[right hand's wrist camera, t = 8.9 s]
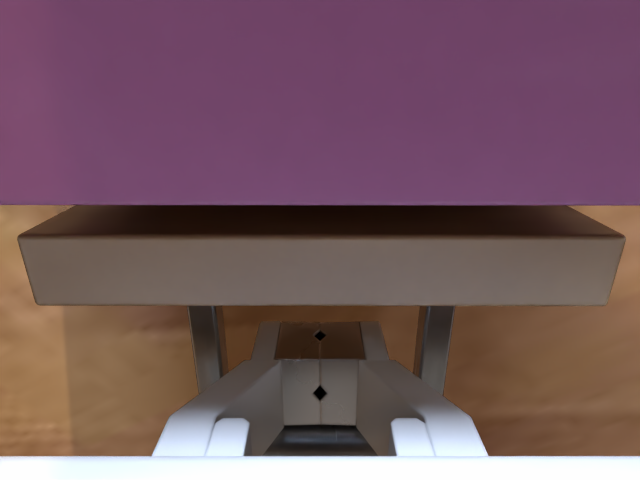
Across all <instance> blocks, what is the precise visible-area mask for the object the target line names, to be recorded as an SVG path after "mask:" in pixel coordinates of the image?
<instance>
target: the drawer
mask: <svg viewBox="0 0 640 480" xmlns="http://www.w3.org/2000/svg"><path fill="white" fill-rule="evenodd" d="M17 240H18V244H19V247H20V251H21V254H22V257H23V261H24V264H25V268H26V271H27V275H28V278H29V282H30V285H31V289H32V292H33V296H34V299H35V302H36V304H37V305H90V306H187V311H188V318H189V325H190V333H191V340H192V347H193V355H194V362H195V370H196V377H197V384H198V392H199V394H200V393H201V392H203V391H204V390H205V389H207V388H208V387H209V386H211V385H212V384H213V383H215V382H216V381H218V380H219V379H220V378H222V377H223V376H224V375H226V374H227V373H228V372H229V370H228V360H227V350H226V340H225V330H224V320H223V310H222V306H420V309H419V319H418V329H417V338H416V348H415V358H414V368H413V374H414V375H416V376H417V377H418V378H420V379H421V380H422V381H424V382H425V383H426V384H428V385H429V386H430V387H432V388H433V389H434V390H436V391H437V392H438V393H440V394H441V395H442V396H443V392H444V385H445V377H446V370H447V363H448V356H449V348H450V341H451V334H452V327H453V320H454V312H455V306H605V305H606V304H607V303H608V299H609V296H610V292H611V289H612V286H613V282H614V279H615V275H616V272H617V268H618V265H619V262H620V258H621V255H622V251H623V248H624V244H625V241H626V238H625V236H624V235H622V234H620V233H619V232H617V231H615V230H613V229H611V228H609V227H607V226H605V225H603V224H601V223H599V222H597V221H595V220H593V219H592V218H590V217H588V216H586V215H584V214H582V213H580V212H578V211H576V210H574V209H572V208H570V207H568V206H567V205H75V206H74V207H72V208H70V209H68V210H66V211H64V212H62V213H60V214H58V215H56V216H54V217H52V218H50V219H49V220H47V221H45V222H43V223H41V224H39V225H37V226H35V227H33V228H31V229H29V230H27V231H25V232H24V233H22V234H20V235H18V238H17ZM262 456H378V455H377V454H376V452H375V451H374V450H373V448H372V447H371V446H370V444H369V443H368V442H367V441H366V439H365V438H364V437H363V435H362V434H361V433H360V431H359V430H358V429H357V428H356V425H322V424H317V425H284V428H283V429H282V431H281V432H280V433H279V434H278V436H277V437H276V438H275V440H274V441H273V442H272V443H271V445H270V446H269V447H268V449H267V450H266V451H265V453H264V454H263V455H262Z"/></svg>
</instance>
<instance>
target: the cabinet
mask: <svg viewBox="0 0 640 480" xmlns="http://www.w3.org/2000/svg"><path fill="white" fill-rule="evenodd" d="M0 205H640V0H0Z"/></svg>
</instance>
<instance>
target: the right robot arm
mask: <svg viewBox="0 0 640 480" xmlns="http://www.w3.org/2000/svg"><path fill="white" fill-rule="evenodd" d="M317 424H322V425H356V428H357V429H358V430H359V431H360V433H361V434H362V435H363V437H364V438H365V439H366V441H367V442H368V443H369V444H370V446H371V447H372V448H373V450H374V451H375V452H376V454H377V455H378V456H262V455H263V454H264V453H265V451H266V450H267V449H268V447H269V446H270V445H271V443H272V442H273V441H274V440H275V438H276V437H277V436H278V434H279V433H280V432H281V431H282V429H283V428H284V425H317ZM0 480H640V456H488V454H487V452H486V450H485V447H484V445H483V443H482V441H481V438H480V436H479V434H478V432H477V429H476V427H475V425H474V423H473V420H472V418H471V417H470V416H469V415H468V414H466V413H465V412H464V411H462V410H461V409H460V408H458V407H457V406H456V405H454V404H453V403H452V402H450V401H449V400H448V399H446V398H445V397H444V396H442V395H441V394H440V393H438V392H437V391H436V390H434V389H433V388H432V387H430V386H429V385H428V384H426V383H425V382H424V381H422V380H421V379H420V378H418V377H417V376H416V375H414V374H413V373H412V372H410V371H409V370H408V369H406V368H405V367H404V366H402V365H401V364H400V363H398V362H397V361H396V360H389V356H388V352H387V348H386V344H385V340H384V336H383V332H382V329H381V325H380V322H379V321H362V322H326V323H320V322H292V321H282V322H280V321H262V322H261V323H260V324H259V328H258V332H257V336H256V340H255V344H254V348H253V352H252V356H251V360H244V361H243V362H242V363H240V364H239V365H238V366H236V367H235V368H234V369H232V370H231V371H230V372H228V373H227V374H226V375H224V376H223V377H222V378H220V379H219V380H218V381H216V382H215V383H213V384H212V385H211V386H209V387H208V388H207V389H205V390H204V391H203V392H201V393H200V394H199V395H197V396H196V397H195V398H193V399H192V400H191V401H189V402H188V403H187V404H185V405H184V406H183V407H181V408H180V409H179V410H177V411H176V412H175V413H173V414H172V415H171V416H169V419H168V421H167V423H166V425H165V427H164V430H163V432H162V434H161V436H160V439H159V441H158V443H157V445H156V447H155V450H154V452H153V454H152V456H0Z"/></svg>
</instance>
